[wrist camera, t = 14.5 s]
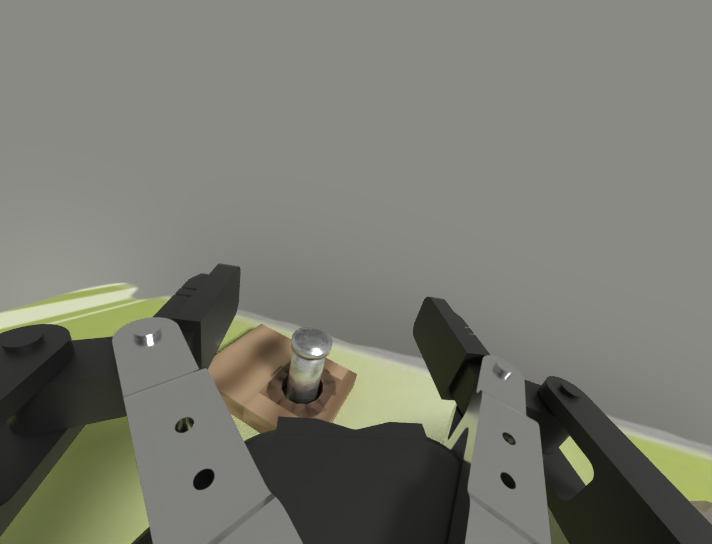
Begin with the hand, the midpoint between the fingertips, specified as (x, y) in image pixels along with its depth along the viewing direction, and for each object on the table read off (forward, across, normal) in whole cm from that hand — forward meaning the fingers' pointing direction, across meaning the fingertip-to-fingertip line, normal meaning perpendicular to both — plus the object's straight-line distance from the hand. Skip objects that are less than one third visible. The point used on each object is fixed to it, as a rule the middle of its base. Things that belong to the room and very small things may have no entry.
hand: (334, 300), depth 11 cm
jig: (+20, +2, +30) cm, 36 cm away
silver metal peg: (+18, -1, +30) cm, 35 cm away
